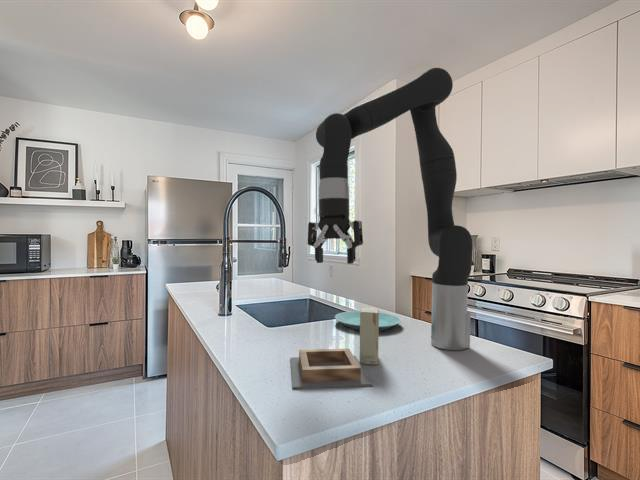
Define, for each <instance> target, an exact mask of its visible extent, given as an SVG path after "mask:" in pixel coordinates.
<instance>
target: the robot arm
mask: <svg viewBox="0 0 640 480" xmlns="http://www.w3.org/2000/svg"><path fill="white" fill-rule="evenodd" d="M453 85H454V84H453V78H452V76H451V74H450V73H449V72H448V71H447V70H446V69H444V68H441V67H431V68H430V69H428V70H425V71H424V72H423V73H422V74H420V75H419V76H418V77H416V78H415V79H413V80H412V81H410V82H408V83H406V84H404V85H403V86H400V87H399V88H397V89H394V90H392V91H389V92H387V93H385V94H384V93H383V95H382V94H381V95H380V96H377V97H375V98H372V99H370V100H367V101H364V102H363V103H360V104H358V105H356V106H354V107H352V108H351V109H350V110H348V111H347V112H345V113H344V114H342V113H340V112H334V113H331V114H330V115H328V116H327V117H326V118H324V120H323V121H321V123H320V124H319V125H318V126H317V128H316V132H315V139H316V141H317V142H316V143H318V145H319V146H320V147H322V148H323V154H322V157H320V159H319V183H318V217H319V221H318V222H314V221H312V222H311V221H309V222H308V225H307V226H308V227H307V230H308V231H307V245H308V246H311V247H313V249H314V260H315V261H316V263H317V264H322V263H324V247H323V246H324V244H325V243H326V242H327V241H328V239H329V240H331V239H337V240H339V239H340V240H342V242H343V243H345V245H346V247H348V248H347V249H346V250H347V251H346V255H347V257H346V260H347V264H348V265H349V264H350V265H352V264H354V262H356V257H357V256H356V250H357V247H359V246H363V244H364V238H363V237H364V235H363V226H362V225H363V222H362V221H361V220H357V219H356V220H354V221H350V187H349V178H348V177H349V176H348V175H349V174H348V173H349V172H348V171H349V170H348V169H349V167H348V159H349V155H350V154H349V153H350V149H351V143H352V139H355V138H356V137H358V136H361V135H363V134H366V133H369V132H371V131H373V130H376V129H379V128H381V127H382V126H384V125H386V124H388V123H389V122H391V121H394V120H396V118H398V117H399V116H400V117H401V115H404V114H405V113H407V112H408V111H409V112H410V116H411V120H412V123H413V129H414V132H415V139H416V144H417V152H418V161H419V167H420V175H421V181H422V186H423V193H424V200H425V205H426V213H427V214H426V215H427V238H428V246H429V248H430V251H431V252H432V254H434V255H435V256H436V257H438V262H437V264H438V265H437V268H436V270H435V271H434V272H433V273H432V277H431V278H432V279H431V282H432V283H431V331H430V334H431V335H430V338H431V339H430V344H431V345H432V346H434V347H436V348H437V349H438V348H439V349H442V350H447V351H463V350H465V349H470V348H471V312H469V311H468V297H469V296H468V293H469V292H468V289H469V287H468V286H469V285H468V283H469V278H470V275H471V272H472V266H473V265H472V264H473V251H474V250H473V249H474V247H473V245H474V244H473V238H472V235H471V232H470V231H469V230H468V229H467V228H466V227H465V226H461V225H455V222H454V215H453V201H454V195H455V190H456V186H457V185H456V184H457V176H458V175H457V166H456V159H455V153H454V150H453V148H452V146H451V145H450V143H449V142H448V141H447V139H446V138H445V137H444V135H443V134H442V132H441V131H440V127H439V126H438V122H437V120H438V119H437V114H436V113H437V112H436V107H438V105H440V104H442V103H443V102H444V101H446V99H448V98H449V96H450V95H451V93H452V91H453ZM350 228H351V229H352V231H353V237H352V235H351V234H350V233H349V229H350ZM318 230H320V233H319V235H317V234H318ZM353 239H354V240H353Z"/></svg>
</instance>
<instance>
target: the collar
mask: <svg viewBox="0 0 640 480" xmlns="http://www.w3.org/2000/svg"><path fill="white" fill-rule="evenodd" d="M354 356H355V355H353V353H352V351H351V349H350V348H320V349H318V348H317V349H316V348H315V349H299V350H298V357H299V363H300V370H301V377H302V382H322V381H349V380H361V367H360V366H359V364H358V362H357V361H356V359H355V357H354ZM339 361H344V362H345V364H346V366H318V367H309V363H308V362H339Z"/></svg>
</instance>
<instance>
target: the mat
mask: <svg viewBox="0 0 640 480" xmlns="http://www.w3.org/2000/svg"><path fill="white" fill-rule="evenodd" d="M353 356H354V357H355V359H356V361H357V362H358V364H359V366H360V367H361V380H349V381H322V382H302V377H301V370H300V363H299V356H298V357H297V356H296V357H293V356H292V357H290V358H289V359H290V372H291V373H290V374H291V382H292V383H291V385H292V386H291V387H292V390H304V389H325V388H326V389H329V388H350V387H351V388H353V387H354V388H355V387H356V388H358V387H373V386H374V384H373V382H372V381H371V379H370V377H369V375H368V374H367V372H366V370H365V368H363V366H362V363H360V360H359V359H358V358H357V356H356V355H353ZM308 363H309V367H318V366H346V364H345V362H344V361H339V362H308Z"/></svg>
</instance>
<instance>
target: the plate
mask: <svg viewBox="0 0 640 480" xmlns="http://www.w3.org/2000/svg"><path fill="white" fill-rule="evenodd" d="M360 312H361V310H353V311H352V310H351V311H343V312H338V313H337V314H335V315H334V319H336V320H337V321H338V322H339V323H341V324H343V325H345V326H346V327H347V326H348V328H349V327H350V329H352V328H353V330H358V331H360ZM401 322H402V319H401V318H400V317H399V316H396V315H394V314H391V313H386V312H381V311H379V332H380V331H385V330H388V329H390V328H392V327H394V326H396V325H399V324H401Z"/></svg>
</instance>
